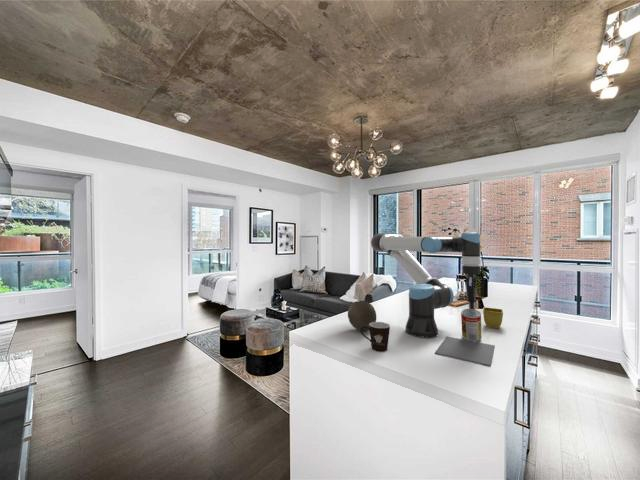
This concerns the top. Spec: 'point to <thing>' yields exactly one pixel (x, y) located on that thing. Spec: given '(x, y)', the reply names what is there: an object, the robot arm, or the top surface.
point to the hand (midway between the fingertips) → (472, 315)
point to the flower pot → (492, 317)
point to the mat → (466, 350)
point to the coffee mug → (378, 335)
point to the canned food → (471, 324)
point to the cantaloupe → (361, 314)
